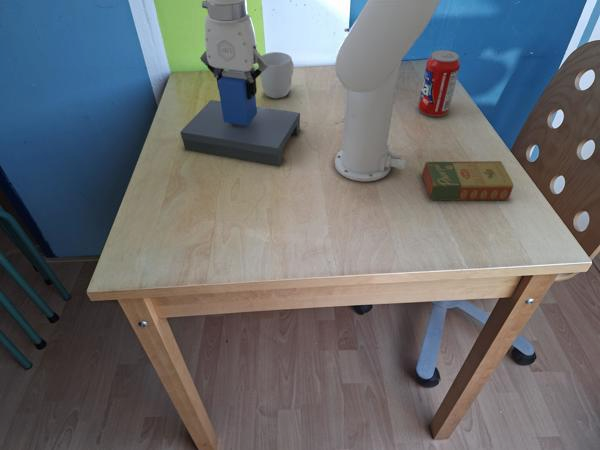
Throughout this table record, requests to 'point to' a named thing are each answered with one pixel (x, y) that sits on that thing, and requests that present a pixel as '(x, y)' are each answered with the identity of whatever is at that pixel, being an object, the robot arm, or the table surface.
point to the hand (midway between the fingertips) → (237, 93)
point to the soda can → (439, 83)
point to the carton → (467, 180)
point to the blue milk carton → (236, 98)
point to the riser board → (241, 134)
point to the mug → (277, 74)
